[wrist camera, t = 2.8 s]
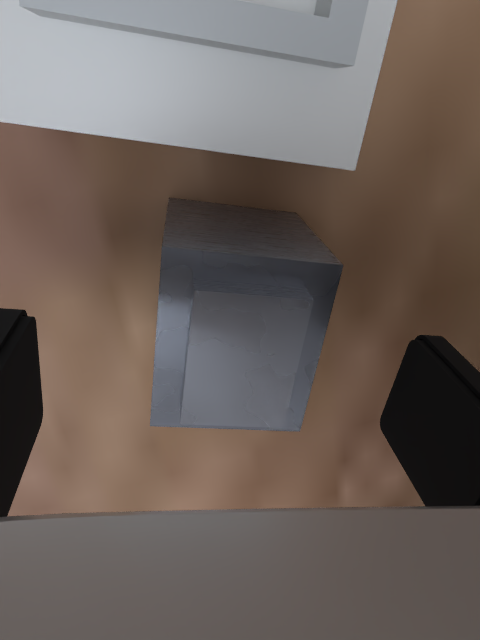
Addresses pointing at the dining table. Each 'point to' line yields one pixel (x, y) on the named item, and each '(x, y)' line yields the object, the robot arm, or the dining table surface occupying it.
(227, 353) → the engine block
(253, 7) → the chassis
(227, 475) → the dining table surface
